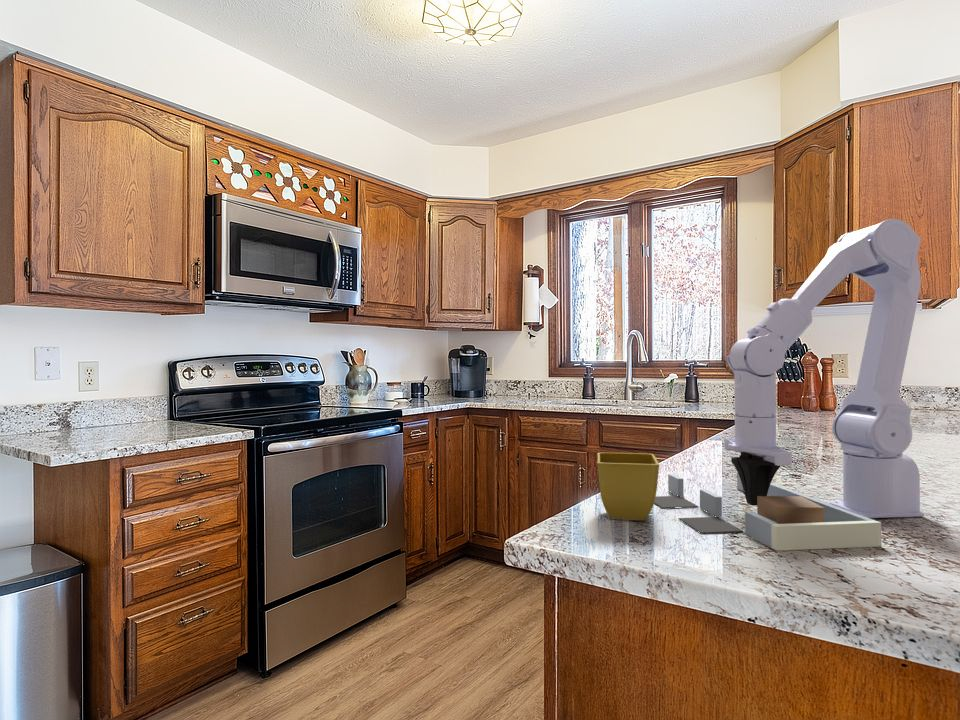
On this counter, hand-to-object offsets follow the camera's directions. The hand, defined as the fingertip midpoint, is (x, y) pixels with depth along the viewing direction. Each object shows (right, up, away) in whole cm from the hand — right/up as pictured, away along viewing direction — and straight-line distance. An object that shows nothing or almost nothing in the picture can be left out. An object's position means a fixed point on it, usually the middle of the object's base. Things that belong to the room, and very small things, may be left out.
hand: (755, 504), depth 87 cm
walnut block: (0, -2, -10) cm, 10 cm away
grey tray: (0, -1, 0) cm, 1 cm away
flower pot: (-20, -2, -1) cm, 20 cm away
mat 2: (-10, -2, -6) cm, 11 cm away
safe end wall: (+1, -2, -16) cm, 16 cm away
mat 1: (-11, -2, +7) cm, 13 cm away
